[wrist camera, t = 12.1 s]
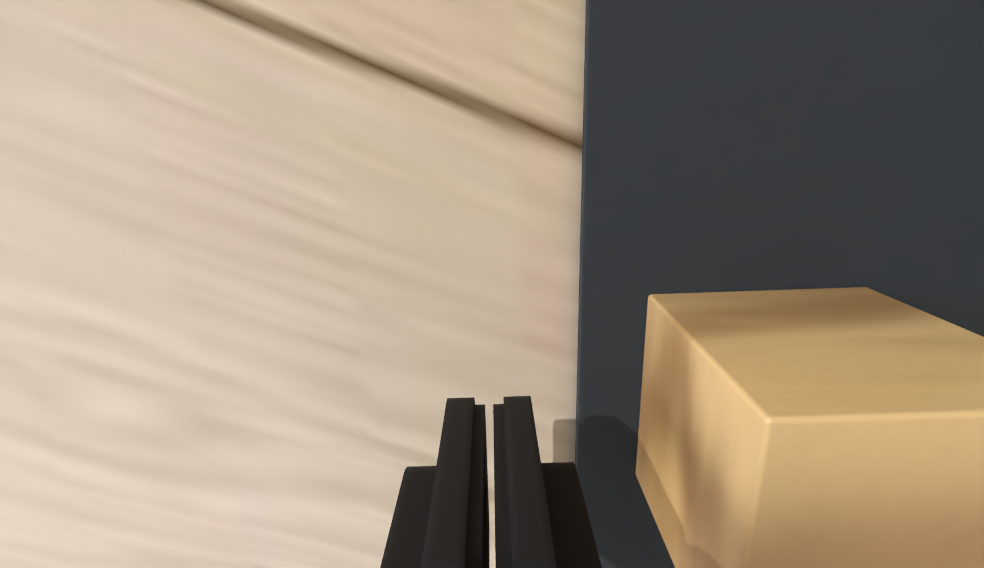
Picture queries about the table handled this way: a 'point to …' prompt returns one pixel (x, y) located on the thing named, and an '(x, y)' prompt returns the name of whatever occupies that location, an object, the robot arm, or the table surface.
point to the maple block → (811, 431)
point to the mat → (763, 185)
